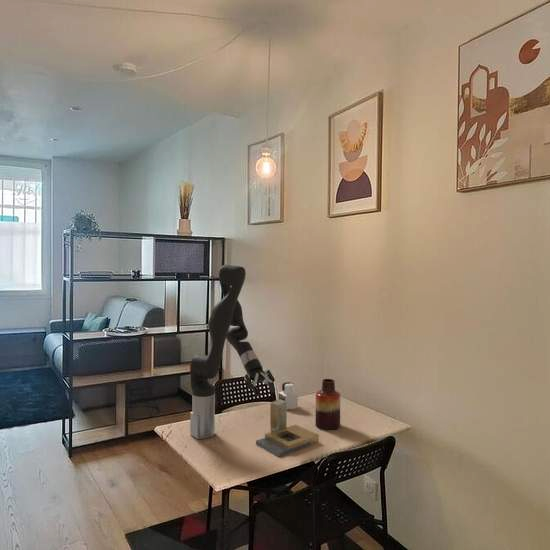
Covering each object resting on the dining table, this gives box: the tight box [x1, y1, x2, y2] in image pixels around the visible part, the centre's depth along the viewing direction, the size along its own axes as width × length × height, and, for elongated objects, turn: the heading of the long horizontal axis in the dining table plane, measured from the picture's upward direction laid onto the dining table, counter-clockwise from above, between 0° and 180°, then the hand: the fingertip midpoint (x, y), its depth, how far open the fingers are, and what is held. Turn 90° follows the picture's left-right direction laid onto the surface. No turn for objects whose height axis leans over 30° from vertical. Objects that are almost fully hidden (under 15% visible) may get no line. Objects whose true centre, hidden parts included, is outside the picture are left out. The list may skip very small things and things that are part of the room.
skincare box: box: [269, 398, 288, 432], centre depth 190 cm, size 6×4×12 cm
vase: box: [314, 378, 342, 432], centre depth 195 cm, size 11×11×20 cm
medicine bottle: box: [278, 381, 299, 411], centre depth 219 cm, size 7×7×12 cm
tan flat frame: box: [255, 424, 320, 458], centre depth 177 cm, size 21×14×3 cm, turn 129°
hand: (266, 393), depth 197 cm, fingers open, 8 cm apart
